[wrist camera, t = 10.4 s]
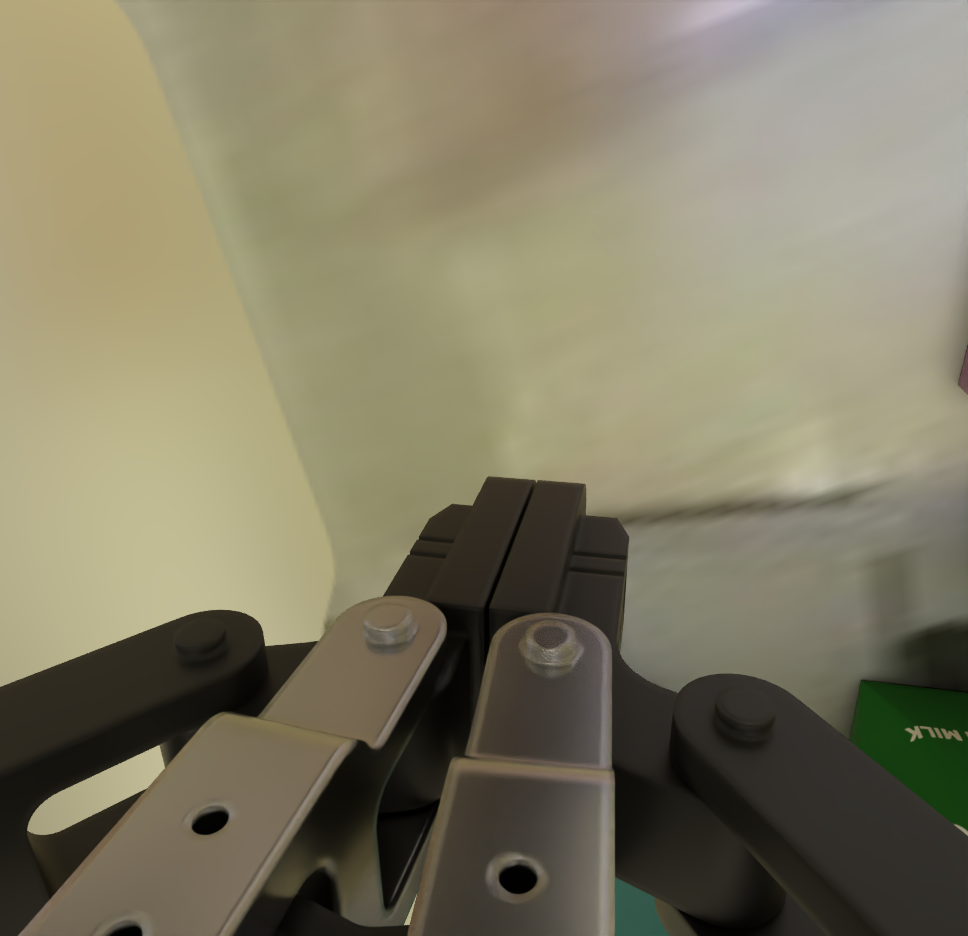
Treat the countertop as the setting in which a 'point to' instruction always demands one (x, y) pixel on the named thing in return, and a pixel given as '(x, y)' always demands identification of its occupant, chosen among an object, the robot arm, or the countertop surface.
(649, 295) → the countertop surface
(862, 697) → the milk carton
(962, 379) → the plum block
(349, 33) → the countertop surface
